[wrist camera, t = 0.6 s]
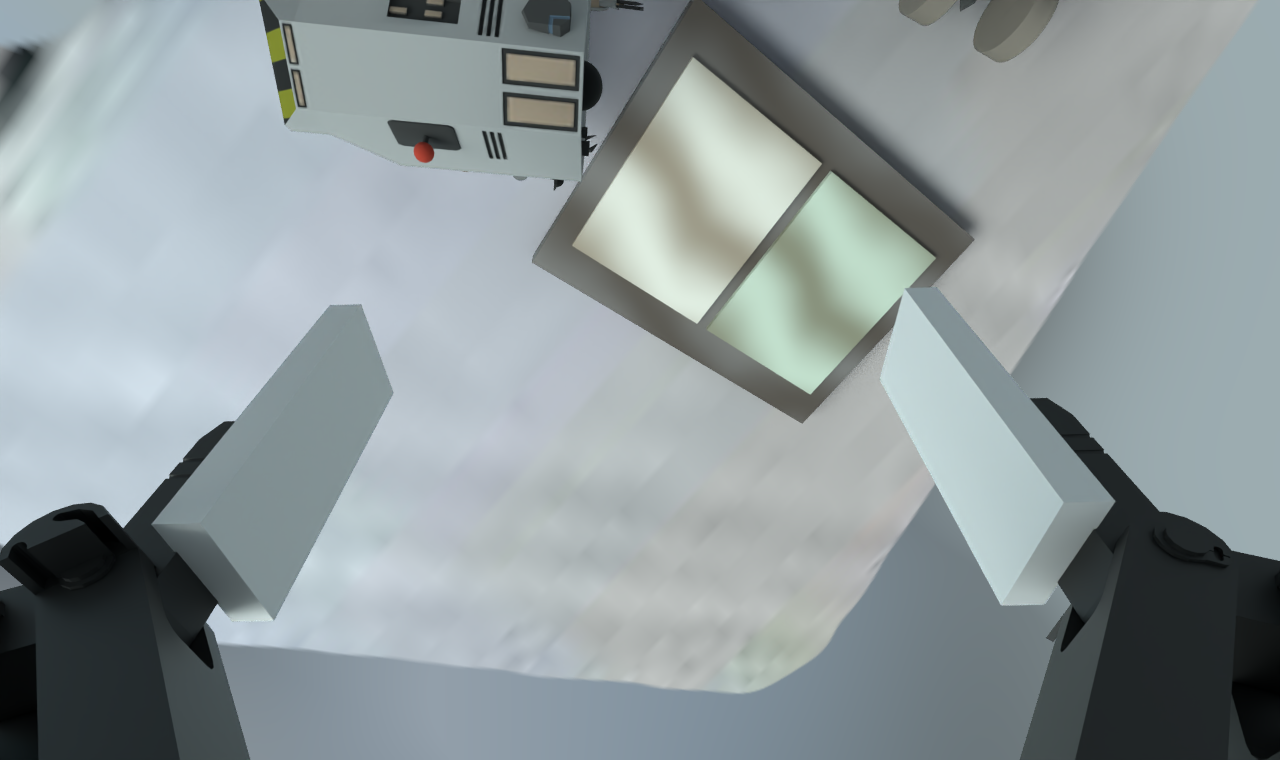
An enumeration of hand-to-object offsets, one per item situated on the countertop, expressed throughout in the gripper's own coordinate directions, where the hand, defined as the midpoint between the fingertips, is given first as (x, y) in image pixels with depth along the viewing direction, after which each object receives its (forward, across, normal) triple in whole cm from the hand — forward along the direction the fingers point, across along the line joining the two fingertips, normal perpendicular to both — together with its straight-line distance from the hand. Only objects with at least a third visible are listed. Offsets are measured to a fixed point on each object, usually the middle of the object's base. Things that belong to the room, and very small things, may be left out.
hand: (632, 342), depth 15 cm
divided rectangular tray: (+22, +7, -8) cm, 24 cm away
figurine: (+22, -7, +3) cm, 23 cm away
